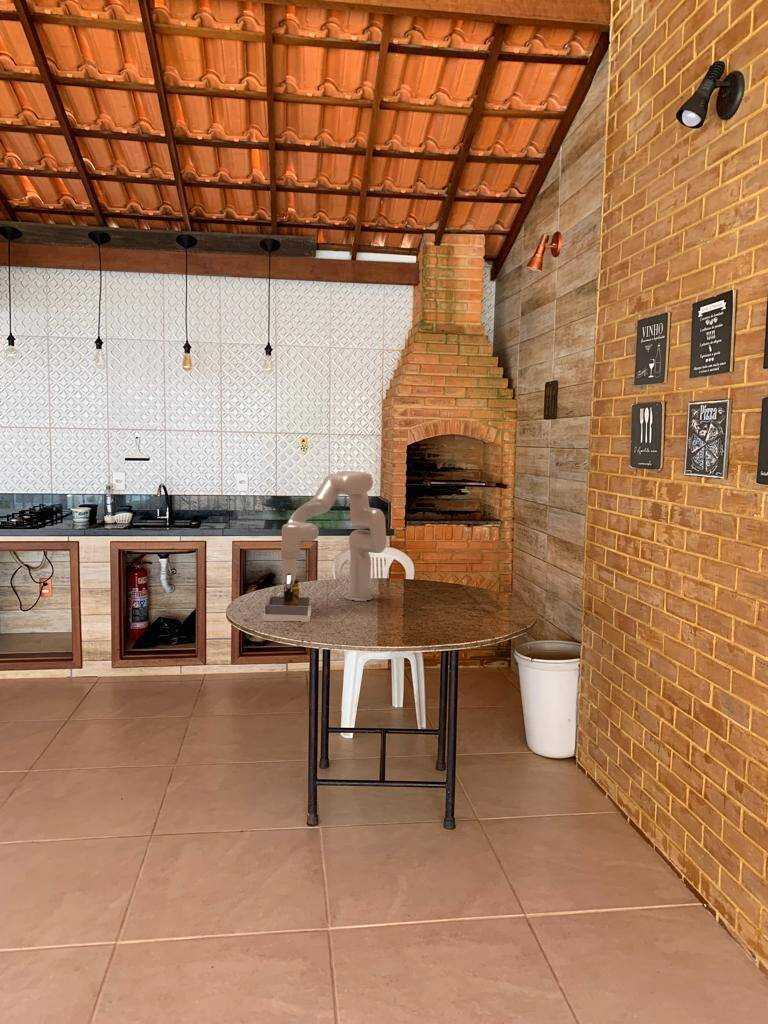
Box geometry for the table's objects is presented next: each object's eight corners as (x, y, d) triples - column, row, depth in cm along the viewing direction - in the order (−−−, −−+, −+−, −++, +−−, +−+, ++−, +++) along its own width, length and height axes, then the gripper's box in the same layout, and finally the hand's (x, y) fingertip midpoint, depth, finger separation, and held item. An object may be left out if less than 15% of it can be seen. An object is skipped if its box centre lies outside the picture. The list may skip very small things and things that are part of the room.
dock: (311, 611, 289) (311, 597, 288) (309, 622, 271) (310, 607, 270) (267, 609, 287) (267, 595, 287) (263, 620, 270) (263, 605, 269)
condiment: (302, 610, 278) (303, 580, 277) (283, 612, 273) (284, 582, 272) (294, 607, 284) (295, 577, 283) (275, 608, 279) (276, 579, 278)
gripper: (282, 551, 285) (281, 594, 287) (279, 558, 268) (277, 603, 270) (300, 551, 286) (299, 594, 288) (299, 558, 269) (297, 604, 270)
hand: (288, 598), depth 279 cm, fingers open, 6 cm apart
